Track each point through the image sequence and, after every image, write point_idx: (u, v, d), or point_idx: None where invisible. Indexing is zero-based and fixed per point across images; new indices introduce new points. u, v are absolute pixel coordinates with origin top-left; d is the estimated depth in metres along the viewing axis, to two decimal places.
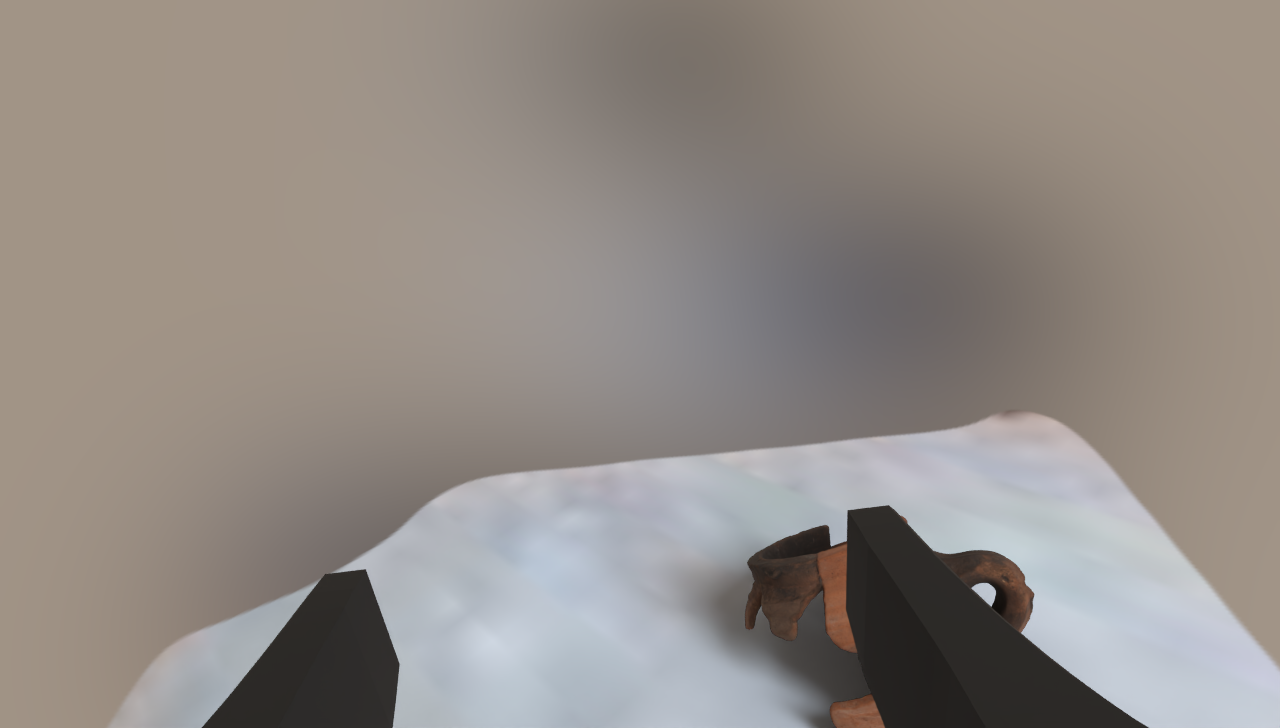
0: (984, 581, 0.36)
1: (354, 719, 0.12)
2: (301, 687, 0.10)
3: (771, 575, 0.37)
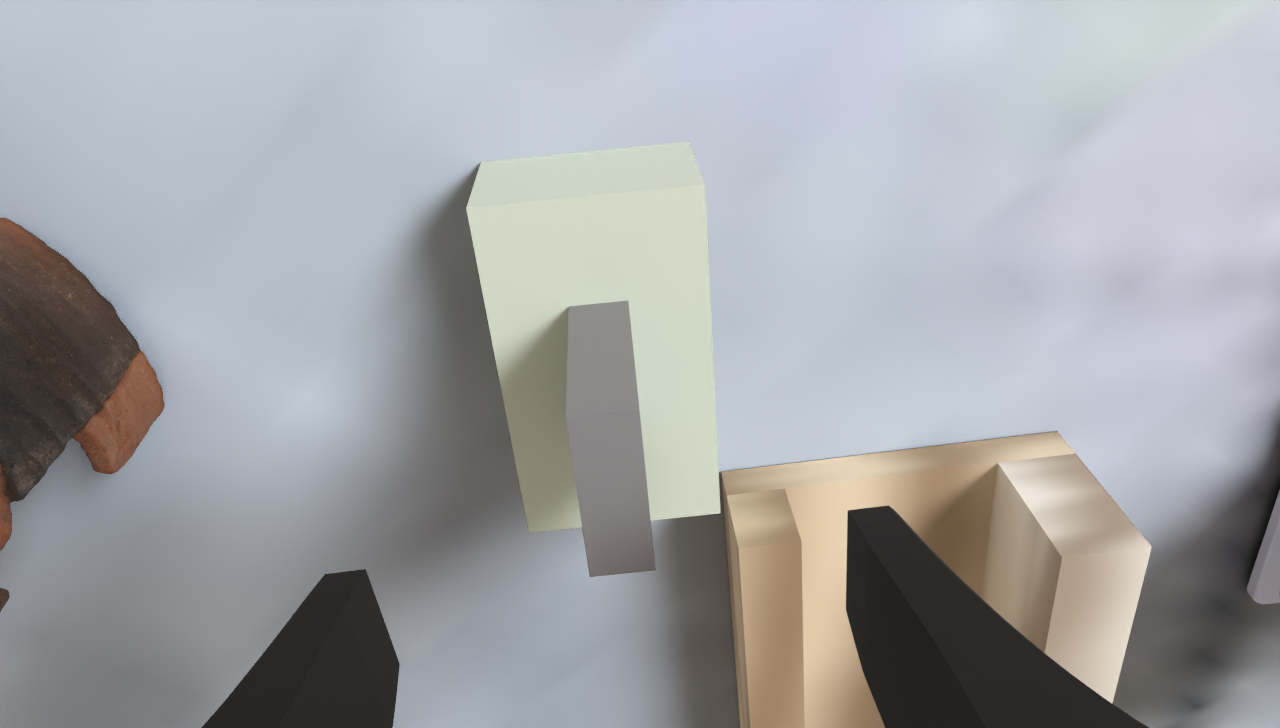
0: None
1: (354, 719, 0.12)
2: (301, 687, 0.10)
3: None
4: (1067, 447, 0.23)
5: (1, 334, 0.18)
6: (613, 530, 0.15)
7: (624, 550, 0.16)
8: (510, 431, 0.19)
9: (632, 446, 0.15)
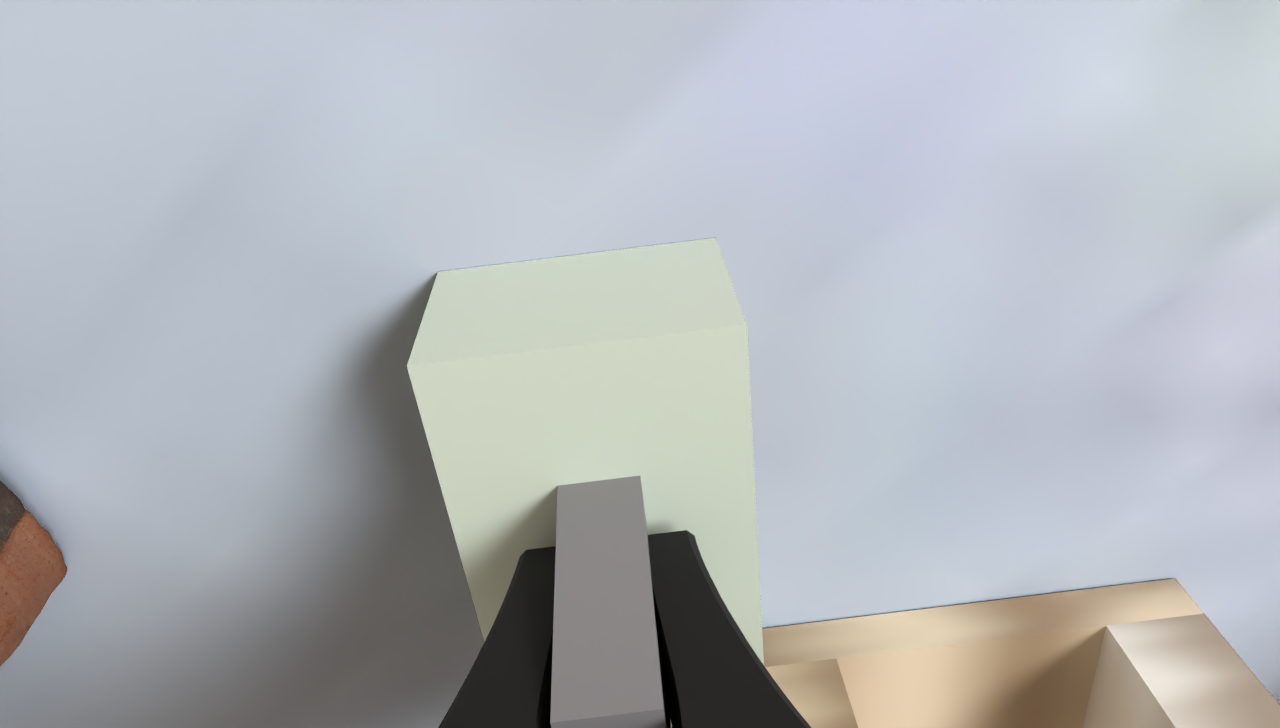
0: None
1: None
2: (546, 657, 0.10)
3: None
4: (1192, 603, 0.18)
5: None
6: None
7: None
8: (484, 637, 0.14)
9: None
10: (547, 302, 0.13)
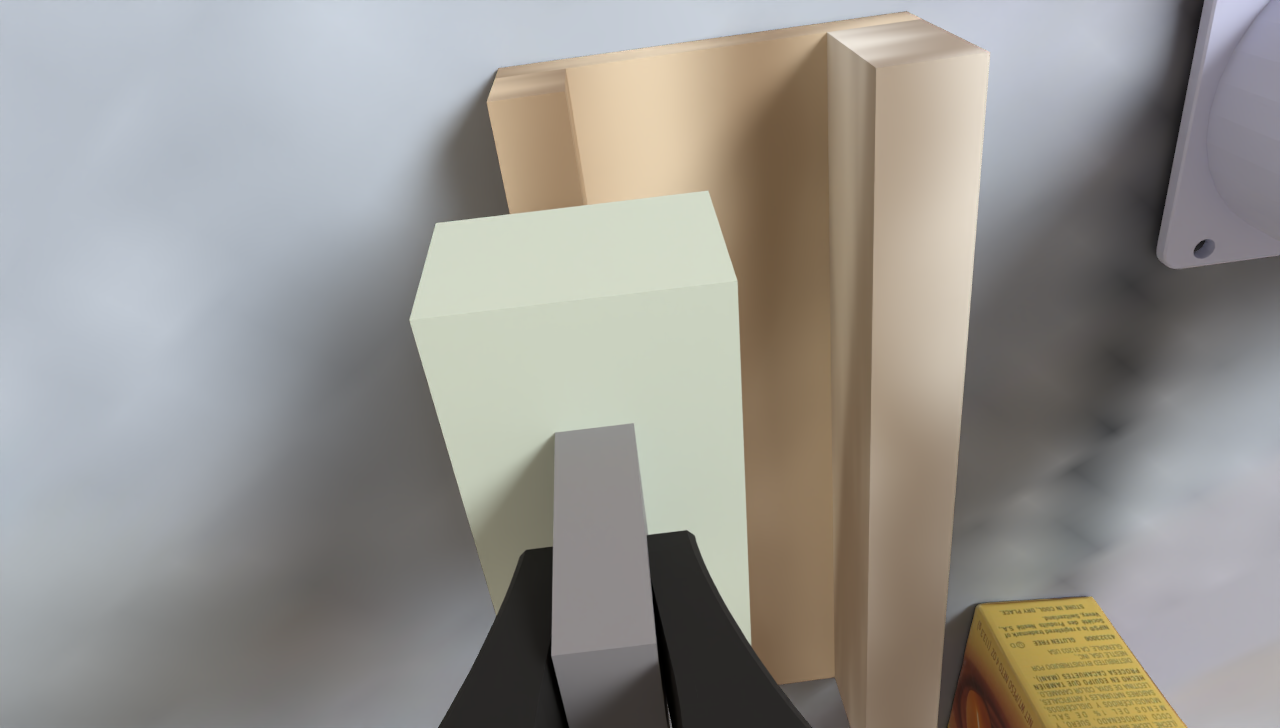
0: None
1: None
2: (546, 657, 0.10)
3: None
4: (914, 16, 0.19)
5: None
6: None
7: None
8: (485, 573, 0.15)
9: (646, 683, 0.10)
10: (544, 256, 0.13)
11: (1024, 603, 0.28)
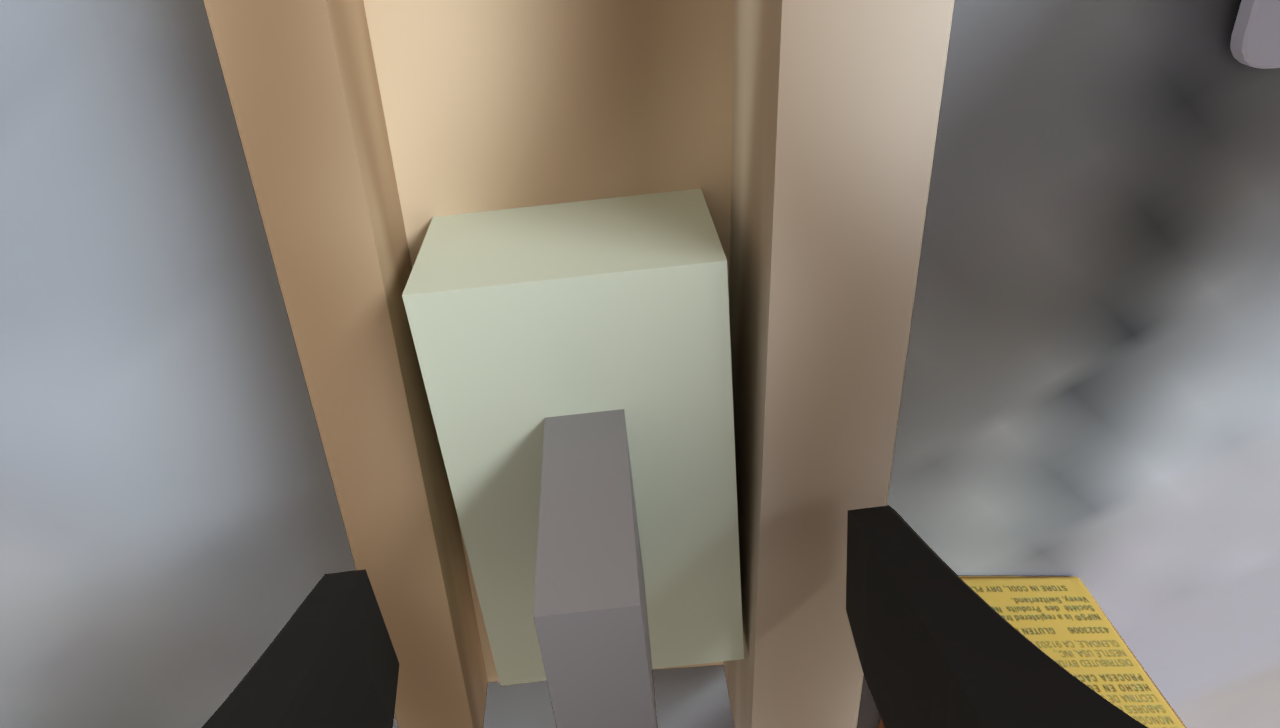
0: None
1: (354, 719, 0.12)
2: (301, 687, 0.10)
3: None
4: None
5: None
6: None
7: None
8: (472, 569, 0.15)
9: (630, 650, 0.10)
10: (537, 242, 0.13)
11: (988, 580, 0.21)
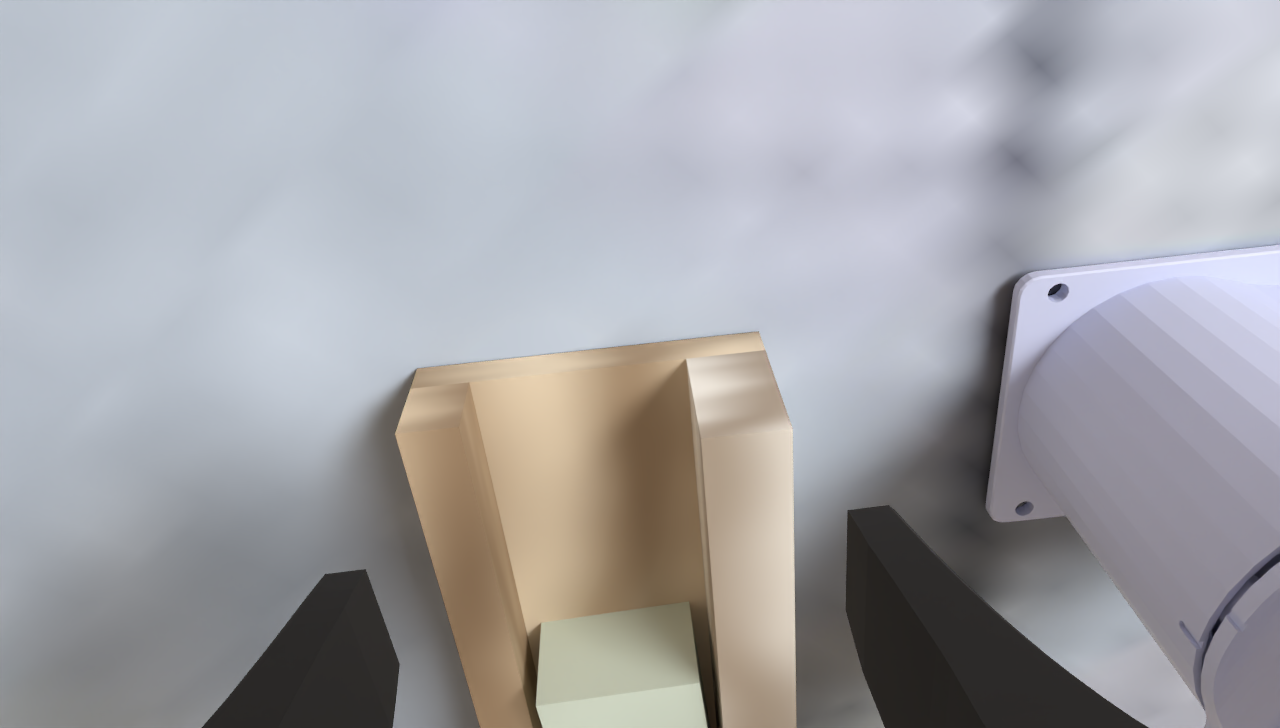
0: None
1: (354, 719, 0.12)
2: (301, 687, 0.10)
3: None
4: (760, 345, 0.22)
5: None
6: None
7: None
8: None
9: None
10: (601, 656, 0.25)
11: None
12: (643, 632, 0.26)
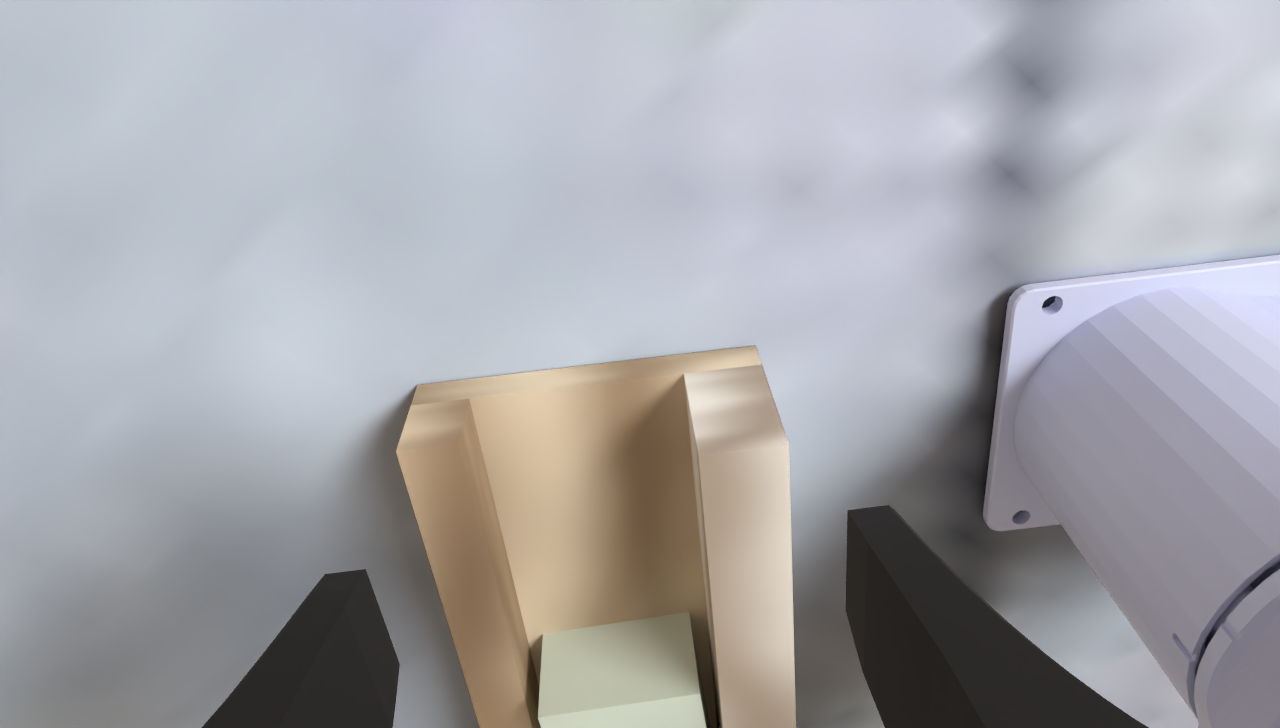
0: None
1: (354, 719, 0.12)
2: (301, 687, 0.10)
3: None
4: (757, 359, 0.23)
5: None
6: None
7: None
8: None
9: None
10: (602, 667, 0.25)
11: None
12: (644, 643, 0.26)
